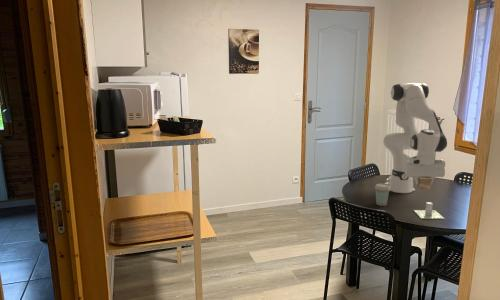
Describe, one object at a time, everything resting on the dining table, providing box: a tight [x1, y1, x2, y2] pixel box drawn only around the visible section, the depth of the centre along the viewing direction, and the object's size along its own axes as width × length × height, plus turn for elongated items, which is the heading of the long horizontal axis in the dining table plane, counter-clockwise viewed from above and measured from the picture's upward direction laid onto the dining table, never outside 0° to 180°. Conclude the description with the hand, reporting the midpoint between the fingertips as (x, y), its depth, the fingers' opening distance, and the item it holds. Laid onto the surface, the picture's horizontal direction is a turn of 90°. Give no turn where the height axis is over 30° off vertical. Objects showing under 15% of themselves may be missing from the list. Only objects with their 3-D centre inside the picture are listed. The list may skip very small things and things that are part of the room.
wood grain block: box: [416, 177, 431, 191], centre depth 206 cm, size 5×5×7 cm
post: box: [413, 201, 445, 220], centre depth 208 cm, size 12×12×7 cm
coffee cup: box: [374, 182, 390, 207], centre depth 225 cm, size 8×8×12 cm
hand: (423, 184), depth 206 cm, fingers closed on wood grain block, 5 cm apart
